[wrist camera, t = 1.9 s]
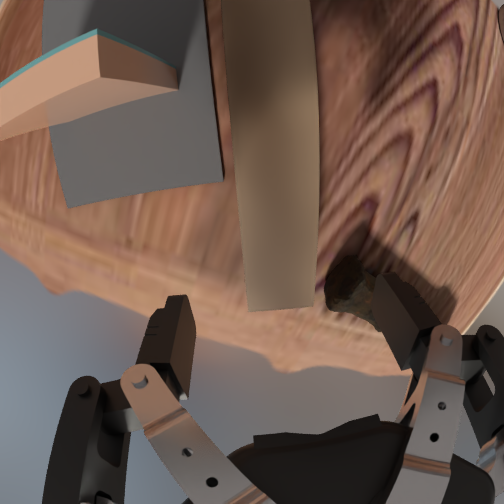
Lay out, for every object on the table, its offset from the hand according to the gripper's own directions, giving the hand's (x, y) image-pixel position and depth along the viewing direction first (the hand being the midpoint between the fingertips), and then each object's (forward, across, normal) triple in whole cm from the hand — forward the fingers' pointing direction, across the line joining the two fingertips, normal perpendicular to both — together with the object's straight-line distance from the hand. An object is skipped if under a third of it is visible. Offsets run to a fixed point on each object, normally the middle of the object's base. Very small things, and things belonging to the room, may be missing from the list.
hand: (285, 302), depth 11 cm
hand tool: (+9, -13, +10) cm, 18 cm away
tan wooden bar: (+9, 0, -5) cm, 10 cm away
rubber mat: (+9, +9, -14) cm, 19 cm away
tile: (+8, +8, -10) cm, 16 cm away
